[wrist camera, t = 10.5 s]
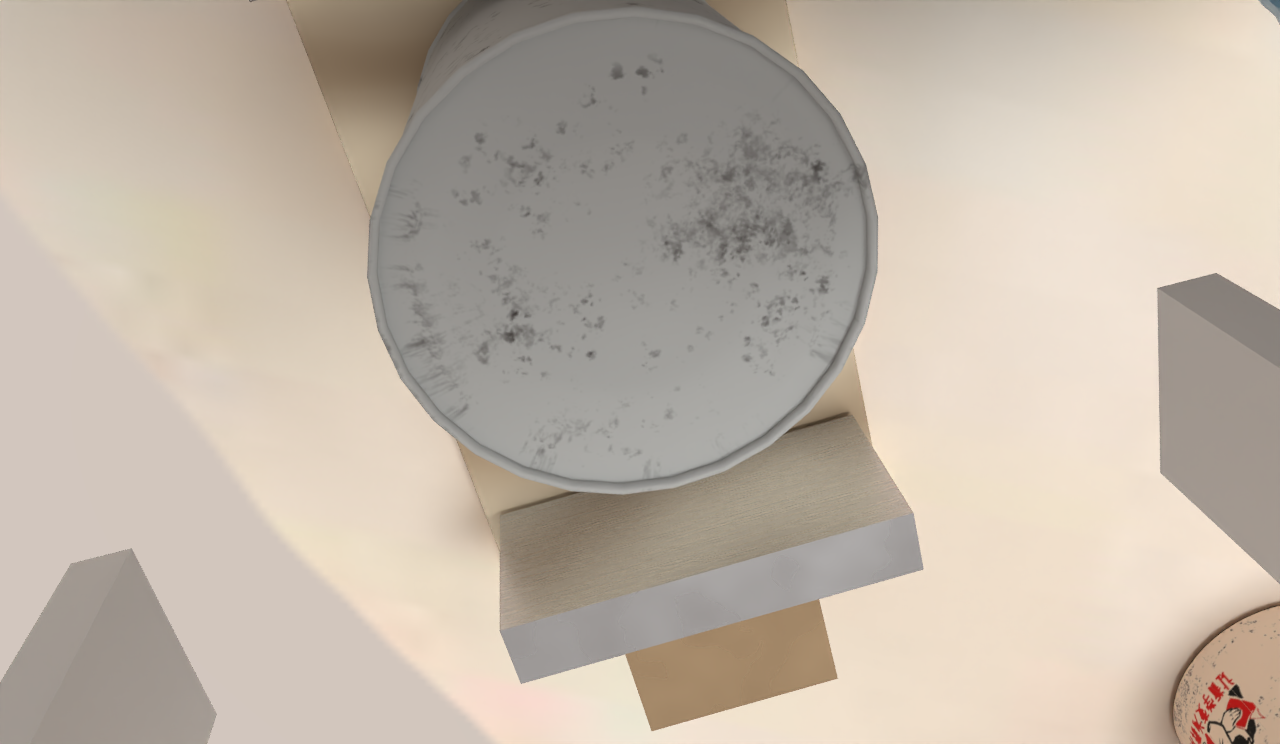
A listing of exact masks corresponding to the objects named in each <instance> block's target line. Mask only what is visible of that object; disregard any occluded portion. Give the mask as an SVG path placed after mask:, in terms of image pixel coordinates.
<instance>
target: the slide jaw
mask: <svg viewBox="0 0 1280 744" xmlns="http://www.w3.org/2000/svg"><path fill="white" fill-rule="evenodd" d="M919 570H923V564H922V558H921V553H920V547H919V542H918V536H917V530H916V525H915V519H914V514H913V512H912V510H911V508H910V507H909V505H908V503H907V502H906V500H905V499H904V497H903V495H902V494H901V492H900V491H899V489H898V487H897V486H896V484H895V482H894V481H893V479H892V478H891V476H890V474H889V473H888V471H887V470H886V468H885V466H884V465H883V463H882V461H881V460H880V458H879V457H878V455H877V453H876V452H875V450H874V449H873V447H872V445H871V444H870V442H869V440H868V439H867V437H866V436H865V434H864V432H863V431H862V429H861V428H860V426H859V424H858V423H857V421H856V419H855V418H854V416H853V415H849V416H845V417H842V418H838V419H835V420H831V421H828V422H824V423H821V424H817V425H814V426H811V427H807V428H804V429H800V430H797V431H793V432H790V433H786V434H783V435H782V436H781V437H780V438H779V439H777V440H776V441H775V442H774V443H773V444H772V445H770V446H769V447H767V448H765V449H764V450H762V451H760V452H758V453H756V454H755V455H753V456H751V457H749V458H748V459H746V460H744V461H742V462H740V463H739V464H737V465H735V466H733V467H732V468H730V469H728V470H726V471H724V472H721V473H718V474H715V475H712V476H709V477H706V478H703V479H700V480H697V481H694V482H691V483H688V484H685V485H682V486H679V487H676V488H670V489H663V490H655V491H647V492H639V493H632V494H624V495H622V494H607V493H591V492H580V493H576V494H573V495H569V496H566V497H562V498H559V499H555V500H552V501H548V502H545V503H541V504H538V505H534V506H531V507H527V508H524V509H520V510H517V511H513V512H510V513H506V514H503V515H500V633H501V635H502V638H503V640H504V643H505V645H506V648H507V650H508V652H509V655H510V657H511V660H512V662H513V665H514V667H515V670H516V672H517V675H518V677H519V680H520V682H521V684H522V683H526V682H529V681H533V680H536V679H540V678H543V677H547V676H550V675H554V674H557V673H561V672H564V671H568V670H571V669H575V668H578V667H582V666H585V665H589V664H592V663H596V662H599V661H603V660H606V659H610V658H613V657H617V656H621V655H624V654H625V655H626V658H627V661H628V663H629V666H630V669H631V672H632V675H633V678H634V681H635V684H636V687H637V690H638V693H639V696H640V698H641V701H642V704H643V707H644V710H645V713H646V716H647V719H648V722H649V725H650V728H651V731H654V730H658V729H661V728H665V727H668V726H672V725H675V724H679V723H682V722H686V721H689V720H693V719H697V718H700V717H704V716H707V715H711V714H714V713H718V712H721V711H725V710H728V709H732V708H735V707H739V706H742V705H746V704H749V703H753V702H756V701H760V700H764V699H767V698H771V697H774V696H778V695H781V694H785V693H788V692H792V691H795V690H799V689H802V688H806V687H809V686H813V685H816V684H820V683H823V682H827V681H831V680H834V679H838V678H837V674H836V669H835V665H834V661H833V657H832V653H831V648H830V644H829V640H828V636H827V631H826V627H825V623H824V619H823V614H822V610H821V606H820V602H819V599H821V598H824V597H828V596H832V595H835V594H839V593H842V592H846V591H849V590H853V589H856V588H860V587H863V586H867V585H870V584H874V583H877V582H881V581H884V580H888V579H891V578H895V577H898V576H902V575H905V574H909V573H912V572H916V571H919Z"/></svg>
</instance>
